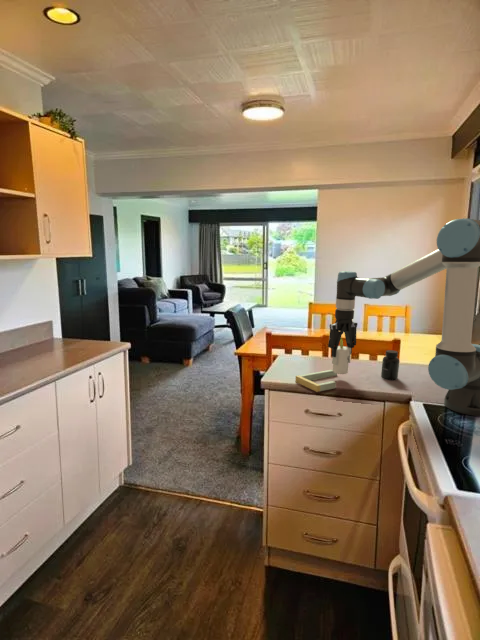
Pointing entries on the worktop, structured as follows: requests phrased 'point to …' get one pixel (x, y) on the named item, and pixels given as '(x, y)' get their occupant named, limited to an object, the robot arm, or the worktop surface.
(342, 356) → the candle
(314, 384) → the rail
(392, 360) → the supplement bottle
